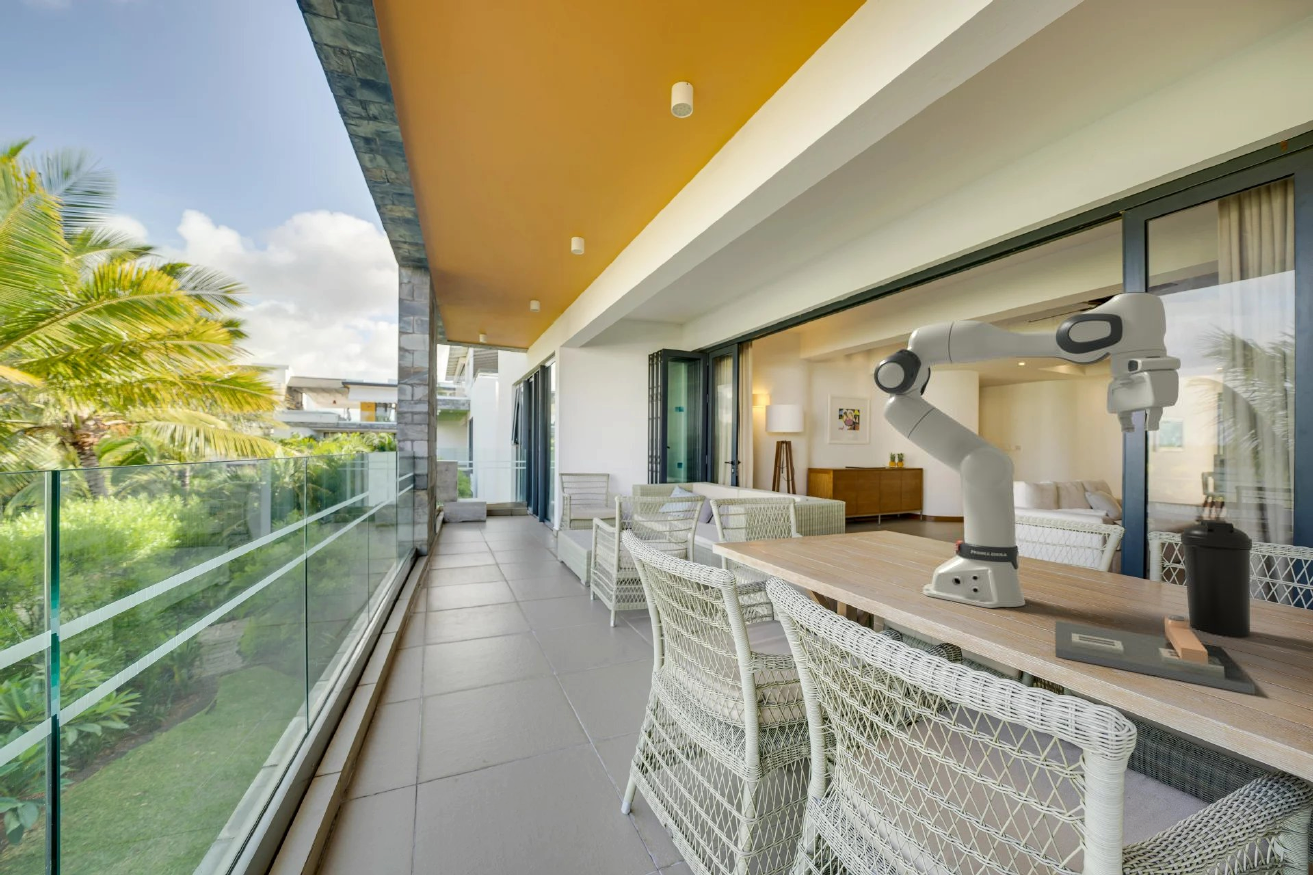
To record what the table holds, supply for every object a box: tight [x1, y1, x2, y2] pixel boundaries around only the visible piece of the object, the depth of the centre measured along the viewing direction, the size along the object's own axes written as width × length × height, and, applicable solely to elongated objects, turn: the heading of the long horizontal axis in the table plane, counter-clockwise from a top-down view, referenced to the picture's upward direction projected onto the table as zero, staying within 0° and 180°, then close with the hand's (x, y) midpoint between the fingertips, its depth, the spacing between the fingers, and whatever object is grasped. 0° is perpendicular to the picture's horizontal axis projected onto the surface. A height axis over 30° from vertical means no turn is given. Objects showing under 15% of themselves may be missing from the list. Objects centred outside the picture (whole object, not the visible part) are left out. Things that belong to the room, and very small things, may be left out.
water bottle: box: [1180, 519, 1253, 639], centre depth 107 cm, size 10×10×23 cm
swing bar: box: [1164, 614, 1208, 664], centre depth 89 cm, size 17×3×5 cm, turn 142°
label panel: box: [1054, 620, 1256, 696], centre depth 93 cm, size 24×20×3 cm
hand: (1139, 431), depth 108 cm, fingers open, 8 cm apart
